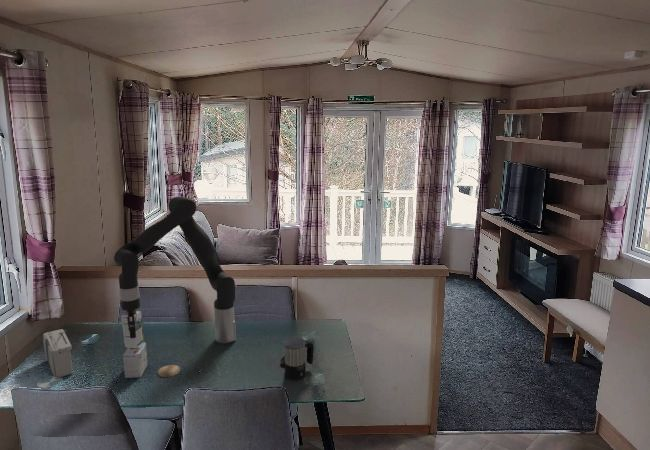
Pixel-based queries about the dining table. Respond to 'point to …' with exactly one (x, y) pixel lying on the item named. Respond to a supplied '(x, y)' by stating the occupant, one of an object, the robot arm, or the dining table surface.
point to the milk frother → (296, 358)
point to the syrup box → (139, 329)
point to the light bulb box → (135, 361)
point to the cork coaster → (168, 371)
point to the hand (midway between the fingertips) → (133, 333)
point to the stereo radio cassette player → (58, 352)
